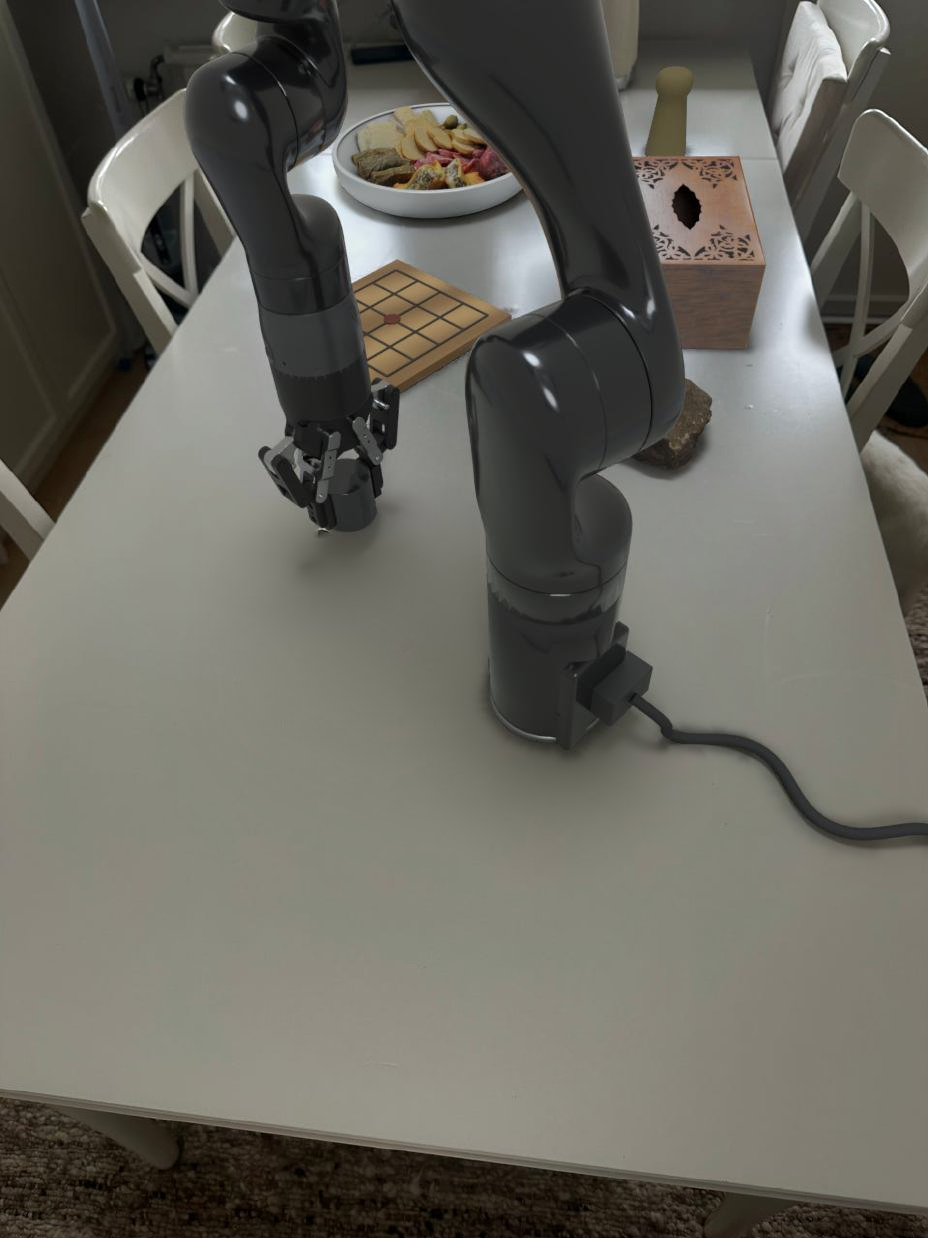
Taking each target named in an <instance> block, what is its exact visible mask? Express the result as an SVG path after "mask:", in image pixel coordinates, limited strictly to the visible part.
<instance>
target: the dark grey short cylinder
mask: <svg viewBox="0 0 928 1238" xmlns="http://www.w3.org/2000/svg"><path fill="white" fill-rule="evenodd" d="M313 483H315V478H314V480H313ZM327 496H328V497H329V498H330V502H331V506H332V511H333V515H334V520H335V524H336V526H335V527H334V528H333V529H332V530H333V531H336V532H340V533H353V532H357V531H361V530H363V529H365V528H367V527H369V525H371V524H372V522H374V521H375V519H376V517H377V513H378V508H377V501H376V499H375V495H374V490H373V484H372V478H371V473H370V469H369V468H368V466H367V465H366V464H365V463H363V462H361V461H359V460H356V458H351V457H350V458H349V457H345V458H344V457H343V458H338V459H336V462H335V470H334V476H333V477H332V478H330V479H329V486H328V494H327Z"/></svg>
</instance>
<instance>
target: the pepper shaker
mask: <svg viewBox="0 0 928 1238" xmlns="http://www.w3.org/2000/svg"><path fill="white" fill-rule="evenodd" d="M693 85H694V76H693V73H692V71H691V70H690V69H689V68H687V67H684V66H681V65H680V66H678V65H674V66H673V65H672V66H667V67H664V68H663V69H661V70H660V71H659V73H658V74H657V77H656V79H655V92H656V94H657V99H656V103H655V107H654V111H653V116H652V120H651V124H650V127H649V132H648V136H647V139H646V140H647V141H646V144H645V149H644V152H645V153H644V154H645V155H646V156H647V157H651V156H686V152H687V126H688V125H687V120H688V96H689V95H690V93H691V91H692V89H693Z"/></svg>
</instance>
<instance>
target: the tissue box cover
mask: <svg viewBox="0 0 928 1238" xmlns="http://www.w3.org/2000/svg"><path fill="white" fill-rule="evenodd" d="M632 157H633V162H634V166H635V170H636V173H637V177H638V181H639V185H640V189H641V192H642V196H643V200H644V203H645V207H646V211H647V214H648V218H649V222H650V225H651V229H652V233H653V236H654V240H655V244H656V247H657V251H658V254H659V258H660V262H661V265H662V269H663V273H664V276H665V280H666V284H667V287H668V291H669V295H670V299H671V302H672V306H673V310H674V314H675V318H676V322H677V326H678V330H679V335H680V339H681V345H682V349H705V350H706V349H710V350H711V349H712V350H713V349H717V350H718V349H719V350H746V349H747V346H748V342H749V338H750V334H751V329H752V326H753V322H754V318H755V315H756V314H755V313H756V309H757V305H758V300H759V297H760V292H761V289H762V285H763V280H764V276H765V271H766V267H767V262H766V258H765V255H764V251H763V246H762V242H761V238H760V234H759V230H758V226H757V222H756V217H755V214H754V210H753V205H752V202H751V198H750V193H749V190H748V185H747V182H746V177H745V173H744V170H743V166H742V161H741V158H740V155H708V156H707V155H690V156H689V155H688V156H687V155H684V156H651V157H649V156H632Z"/></svg>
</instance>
